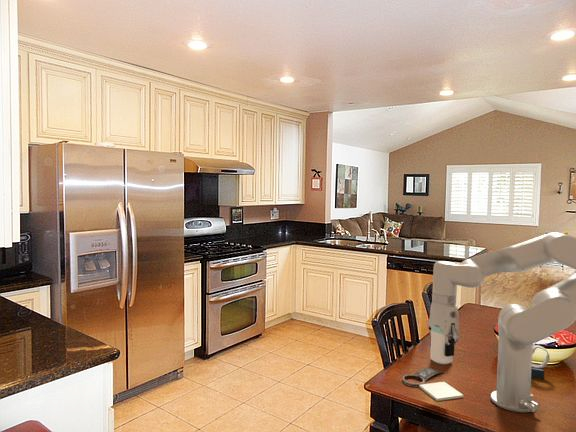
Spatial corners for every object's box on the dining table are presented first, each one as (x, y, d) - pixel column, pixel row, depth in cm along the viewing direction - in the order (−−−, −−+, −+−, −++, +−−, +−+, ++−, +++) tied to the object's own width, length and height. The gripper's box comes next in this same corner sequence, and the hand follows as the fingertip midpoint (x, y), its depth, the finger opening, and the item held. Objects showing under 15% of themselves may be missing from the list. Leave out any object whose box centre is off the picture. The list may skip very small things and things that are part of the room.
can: (456, 362, 140) (458, 326, 139) (443, 366, 136) (445, 330, 135) (438, 355, 146) (440, 321, 145) (425, 359, 142) (427, 324, 141)
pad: (463, 397, 138) (463, 395, 138) (436, 401, 135) (437, 398, 135) (444, 383, 148) (444, 381, 148) (419, 387, 145) (419, 384, 145)
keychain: (446, 375, 156) (446, 370, 155) (416, 390, 143) (416, 384, 143) (427, 368, 162) (427, 363, 161) (397, 382, 149) (397, 377, 149)
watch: (522, 370, 160) (523, 341, 160) (547, 374, 157) (548, 345, 157) (524, 376, 155) (525, 346, 155) (549, 380, 152) (551, 350, 151)
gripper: (471, 305, 132) (469, 360, 133) (437, 292, 149) (435, 341, 150) (451, 306, 130) (448, 362, 131) (419, 293, 147) (417, 343, 148)
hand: (441, 350), depth 141 cm, fingers closed on can, 7 cm apart
